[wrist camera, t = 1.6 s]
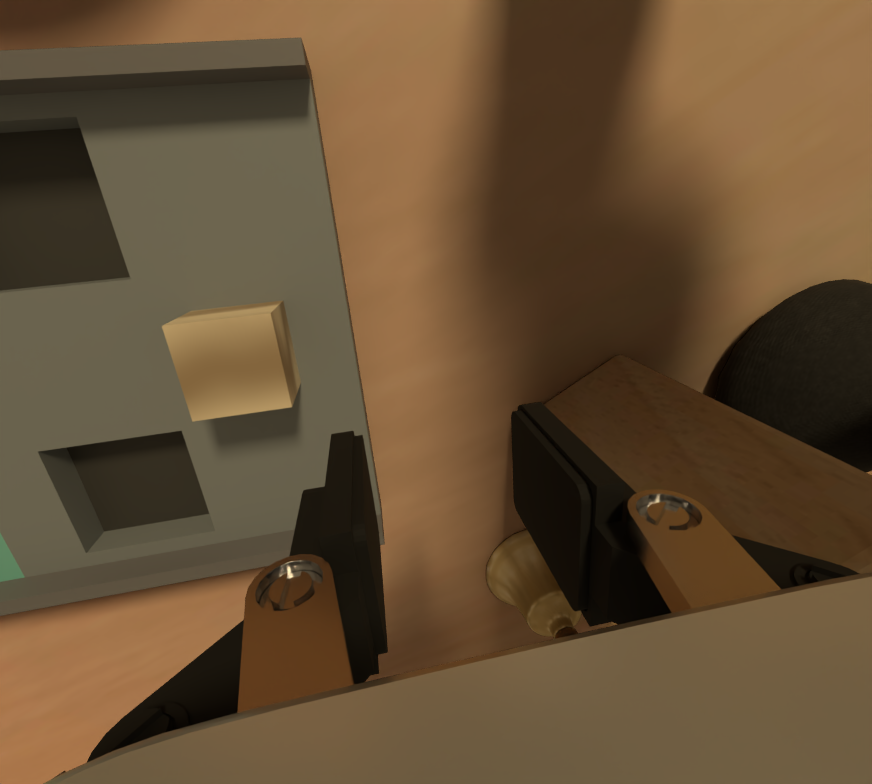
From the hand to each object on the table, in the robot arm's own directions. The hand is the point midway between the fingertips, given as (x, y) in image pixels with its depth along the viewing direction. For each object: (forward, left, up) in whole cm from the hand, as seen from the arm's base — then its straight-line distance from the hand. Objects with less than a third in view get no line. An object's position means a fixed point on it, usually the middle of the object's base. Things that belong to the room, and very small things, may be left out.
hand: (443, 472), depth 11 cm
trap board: (0, -17, -19) cm, 26 cm away
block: (0, -8, -17) cm, 19 cm away
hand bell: (+23, +10, -20) cm, 32 cm away
